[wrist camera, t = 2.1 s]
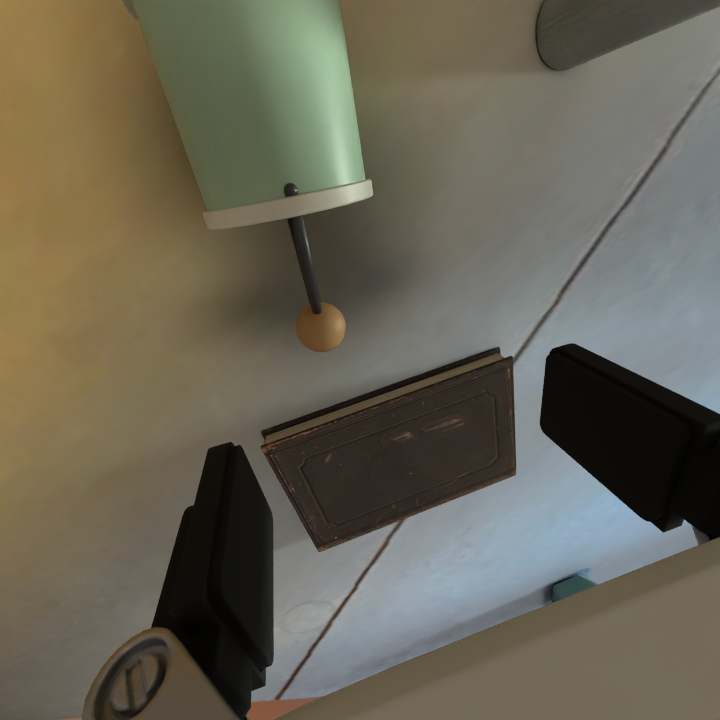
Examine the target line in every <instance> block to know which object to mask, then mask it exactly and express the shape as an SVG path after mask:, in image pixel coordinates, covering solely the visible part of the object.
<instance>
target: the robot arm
mask: <svg viewBox="0 0 720 720" xmlns="http://www.w3.org/2000/svg"><path fill="white" fill-rule="evenodd" d="M540 427H541V429H542V431H543V432H544V434H545V435H546V436H548V437H549V438H550V439H551V440H552V441H553V442H554V443H556V444H557V445H558V446H559V447H560V448H561V449H563V450H564V451H565V452H566V453H567V454H568V455H569V456H571V457H572V458H573V459H574V460H575V461H576V462H577V463H579V464H580V465H581V466H582V467H583V468H584V469H586V470H587V471H588V472H589V473H590V474H591V475H592V476H594V477H595V478H596V479H597V480H598V481H599V482H600V483H602V484H603V485H604V486H605V487H606V488H607V489H608V490H610V491H611V492H612V493H613V494H614V495H615V496H617V497H618V498H619V499H620V500H621V501H622V502H623V503H625V504H626V505H627V506H628V507H629V508H630V509H631V510H633V511H634V512H635V513H636V514H637V515H638V516H640V517H641V518H642V519H644V520H646V521H649V522H652V523H653V524H654V525H655V526H656V527H657V528H659V529H660V530H661V531H662V532H666V531H668V530H671V529H674V528H676V527H679V526H681V525H682V523H683V521H684V519H685V520H686V521H687V522H688V523H690V524H691V525H692V528H693V531H694V534H695V536H696V539H697V542H698V546H696V547H693V548H691V549H688V550H685V551H683V552H680V553H678V554H675V555H673V556H670V557H667V558H665V559H662V560H660V561H657V562H655V563H652V564H650V565H647V566H644V567H642V568H639V569H637V570H634V571H632V572H629V573H627V574H624V575H622V576H619V577H616V578H614V579H611V580H609V581H606V582H604V583H601V584H599V585H596V586H594V587H591V588H589V589H586V590H584V591H581V592H579V593H576V594H573V595H571V596H568V597H566V598H563V599H561V600H558V601H556V602H553V603H551V604H548V605H546V606H543V607H541V608H538V609H536V610H533V611H531V612H528V613H526V614H523V615H521V616H518V617H516V618H513V619H511V620H508V621H506V622H503V623H501V624H498V625H496V626H493V627H491V628H488V629H486V630H483V631H481V632H478V633H476V634H473V635H471V636H468V637H466V638H463V639H461V640H458V641H456V642H454V643H451V644H449V645H446V646H444V647H441V648H439V649H436V650H434V651H431V652H429V653H426V654H424V655H421V656H419V657H416V658H414V659H411V660H409V661H406V662H404V663H401V664H399V665H396V666H394V667H392V668H389V669H387V670H384V671H382V672H380V673H377V674H375V675H373V676H370V677H368V678H366V679H363V680H361V681H359V682H356V683H354V684H352V685H349V686H347V687H345V688H342V689H340V690H337V691H335V692H333V693H330V694H328V695H326V696H323V697H321V698H319V699H316V700H314V701H312V702H310V703H307V704H305V705H303V706H301V707H299V708H297V709H295V710H293V711H291V712H289V713H287V714H285V715H283V716H281V717H279V718H277V719H275V720H720V414H718V413H716V412H714V411H712V410H710V409H708V408H706V407H704V406H702V405H700V404H698V403H696V402H694V401H692V400H690V399H687V398H685V397H683V396H681V395H679V394H677V393H675V392H673V391H671V390H669V389H667V388H665V387H663V386H661V385H659V384H657V383H655V382H652V381H650V380H648V379H646V378H644V377H642V376H640V375H638V374H636V373H634V372H632V371H630V370H628V369H626V368H624V367H622V366H620V365H617V364H615V363H613V362H611V361H609V360H607V359H605V358H603V357H601V356H599V355H597V354H595V353H593V352H591V351H589V350H587V349H585V348H583V347H580V346H578V345H576V344H573V343H572V344H567V345H563V346H560V347H556V348H554V349H552V350H551V351H550V354H549V355H548V356H547V358H546V365H545V376H544V386H543V396H542V406H541V416H540ZM273 655H274V639H273V517H272V512H271V509H270V507H269V505H268V503H267V500H266V498H265V496H264V494H263V492H262V490H261V487H260V485H259V483H258V481H257V479H256V476H255V474H254V472H253V470H252V468H251V466H250V463H249V461H248V459H247V457H246V455H245V453H244V450H243V448H242V447H241V445H238V446H234V444H233V443H232V442H229V443H225V444H222V445H219V446H215V447H212V448H209V449H208V452H207V456H206V460H205V464H204V468H203V472H202V476H201V479H200V483H199V487H198V491H197V495H196V499H195V503H194V505H193V506H190V507H188V508H187V509H186V510H185V512H184V514H183V516H182V520H181V524H180V527H179V531H178V534H177V538H176V541H175V545H174V549H173V552H172V556H171V559H170V563H169V566H168V570H167V573H166V577H165V581H164V584H163V588H162V591H161V595H160V598H159V602H158V606H157V609H156V613H155V616H154V620H153V623H152V627H151V629H148V630H144V631H142V632H141V633H139V634H137V635H135V636H133V637H132V638H130V639H129V640H128V641H127V642H125V643H124V644H123V645H122V646H121V647H119V648H118V649H117V650H116V651H115V652H114V654H113V655H112V656H111V657H110V658H109V659H108V661H107V662H106V663H105V664H104V665H103V667H102V668H101V670H100V672H99V673H98V675H97V676H96V678H95V679H94V681H93V683H92V685H91V688H90V690H89V692H88V695H87V697H86V699H85V704H84V709H83V714H82V720H250V719H249V718H248V717H247V716H246V714H247V712H248V711H249V709H250V707H251V691H253V690H255V689H258V688H261V687H263V686H265V684H266V667H269V666H271V665H272V663H273Z"/></svg>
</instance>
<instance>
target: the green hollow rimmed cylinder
mask: <svg viewBox="0 0 720 720" xmlns="http://www.w3.org/2000/svg"><path fill="white" fill-rule="evenodd" d="M123 3H124V5H125V6H126V8H127V10H128V11H129V12H130V14H131V15H132V16H133V17H134V18H135V19H137V20H138V21H139V24H140V27H141V29H142V32H143V35H144V38H145V40H146V43H147V46H148V49H149V52H150V54H151V57H152V60H153V63H154V65H155V68H156V71H157V74H158V76H159V79H160V82H161V85H162V87H163V90H164V93H165V96H166V98H167V101H168V104H169V107H170V109H171V112H172V115H173V118H174V120H175V123H176V126H177V129H178V132H179V134H180V137H181V140H182V143H183V145H184V148H185V151H186V154H187V156H188V159H189V162H190V165H191V167H192V170H193V173H194V176H195V178H196V181H197V184H198V187H199V189H200V192H201V195H202V198H203V200H204V203H205V206H206V209H207V211H206V212H203V213H202V216H203V218H204V221H205V224H206V227H207V228H208V229H210V230H220V229H229V228H236V227H243V226H250V225H256V224H262V223H268V222H273V221H278V220H283V219H287V220H288V224H289V228H290V231H291V235H292V239H293V243H294V246H295V250H296V254H297V257H298V261H299V265H300V269H301V272H302V276H303V280H304V284H305V287H306V291H307V295H308V298H309V302H310V305H308V306H307V307H305V308H304V309H303V310H302V311H301V313H300V314H299V316H298V318H297V322H296V332H297V335H298V338H299V340H300V341H301V343H302V344H303V345H304V346H305V347H307V348H308V349H310V350H313V351H316V352H326V351H329V350H332V349H334V348H335V347H337V346H338V345H339V344H340V343H341V341H342V340H343V338H344V335H345V331H346V324H345V320H344V317H343V315H342V313H341V312H340V311H339V310H338V309H337V308H336V307H335V306H333V305H331V304H328V303H324V302H321V301H320V296H319V291H318V287H317V282H316V277H315V272H314V267H313V262H312V257H311V252H310V247H309V242H308V237H307V232H306V227H305V223H304V218H303V215H307V214H312V213H316V212H321V211H325V210H329V209H333V208H337V207H341V206H344V205H348V204H352V203H355V202H359V201H362V200H365V199H367V198H370V197H371V196H373V189H372V181H371V179H365V173H364V166H363V159H362V153H361V146H360V139H359V132H358V125H357V118H356V111H355V104H354V98H353V91H352V84H351V77H350V70H349V63H348V56H347V49H346V43H345V36H344V29H343V22H342V15H341V8H340V1H339V0H123Z"/></svg>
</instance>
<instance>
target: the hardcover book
mask: <svg viewBox="0 0 720 720" xmlns="http://www.w3.org/2000/svg"><path fill="white" fill-rule="evenodd" d="M262 435H263V437H264V439H265V441H264V442H265V445H262V446H261V449H262V451H263V452H264V454H265V456H266V458H267V460H268V461H269V463H270V465H271V467H272V469H273V471H274V472H275V474H276V476H277V478H278V480H279V481H280V483H281V485H282V487H283V489H284V490H285V492H286V494H287V496H288V498H289V499H290V501H291V503H292V505H293V507H294V508H295V510H296V512H297V514H298V516H299V517H300V519H301V521H302V523H303V525H304V527H305V528H306V530H307V532H308V534H309V536H310V537H311V539H312V541H313V543H314V545H315V546H316V548H317V550H318V551H319V552H321V551H324V550H326V549H329V548H331V547H334V546H336V545H339V544H341V543H344V542H347V541H349V540H352V539H354V538H357V537H359V536H362V535H364V534H367V533H369V532H372V531H375V530H377V529H380V528H382V527H385V526H387V525H390V524H392V523H395V522H398V521H400V520H403V519H405V518H408V517H410V516H413V515H415V514H418V513H420V512H423V511H426V510H428V509H431V508H433V507H436V506H438V505H441V504H443V503H446V502H448V501H451V500H454V499H456V498H459V497H461V496H464V495H466V494H469V493H471V492H474V491H476V490H479V489H482V488H484V487H487V486H489V485H492V484H494V483H497V482H499V481H502V480H504V479H507V478H510V477H512V476H515V475H516V447H515V413H514V379H513V357H512V356H509V357H506V358H504V357H502V356H501V355H500V348H499V347H498V348H495V349H492V350H489V351H487V352H484V353H481V354H478V355H475V356H472V357H470V358H467V359H464V360H461V361H458V362H456V363H453V364H450V365H447V366H444V367H442V368H439V369H436V370H433V371H430V372H428V373H425V374H422V375H419V376H416V377H414V378H411V379H408V380H405V381H402V382H400V383H397V384H394V385H391V386H388V387H385V388H383V389H380V390H377V391H374V392H371V393H369V394H366V395H363V396H360V397H357V398H355V399H352V400H349V401H346V402H343V403H341V404H338V405H335V406H332V407H329V408H327V409H324V410H321V411H318V412H315V413H312V414H310V415H307V416H304V417H301V418H298V419H296V420H293V421H290V422H287V423H284V424H282V425H279V426H276V427H273V428H270V429H268V430H265V431H262Z"/></svg>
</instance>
